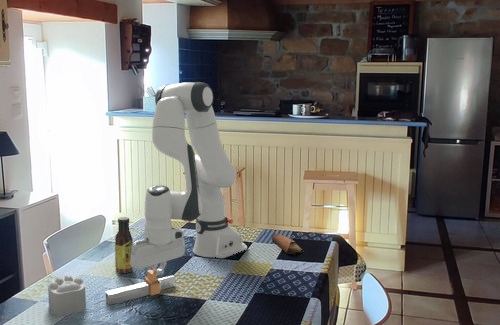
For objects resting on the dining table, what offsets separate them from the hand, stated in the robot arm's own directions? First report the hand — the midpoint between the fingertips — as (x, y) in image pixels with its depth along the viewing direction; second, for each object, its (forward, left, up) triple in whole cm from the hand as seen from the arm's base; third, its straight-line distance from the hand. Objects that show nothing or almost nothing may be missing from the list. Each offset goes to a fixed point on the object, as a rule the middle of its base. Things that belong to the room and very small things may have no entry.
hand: (158, 274), depth 180 cm
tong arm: (+9, +1, -6) cm, 10 cm away
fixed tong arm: (+6, -1, -6) cm, 8 cm away
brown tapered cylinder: (-64, -9, -7) cm, 65 cm away
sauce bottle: (+3, -22, -6) cm, 23 cm away
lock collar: (+2, 0, -6) cm, 6 cm away
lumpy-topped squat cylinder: (+29, -6, -6) cm, 30 cm away
